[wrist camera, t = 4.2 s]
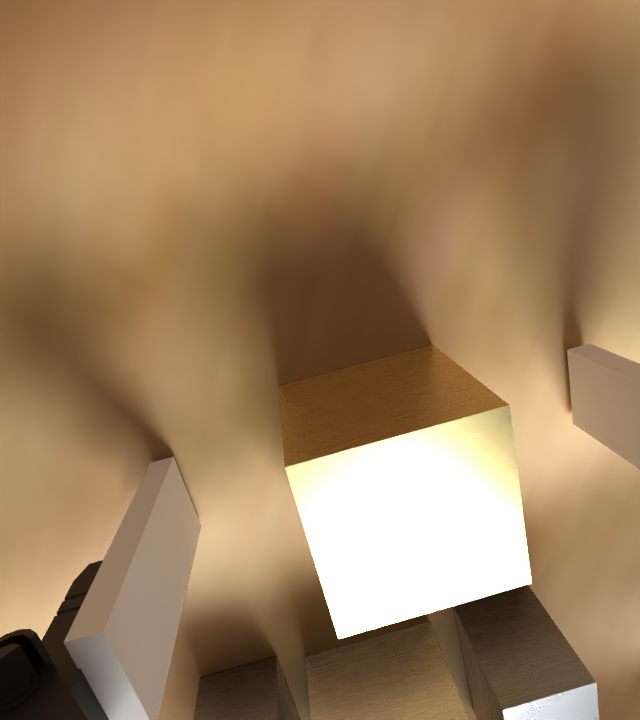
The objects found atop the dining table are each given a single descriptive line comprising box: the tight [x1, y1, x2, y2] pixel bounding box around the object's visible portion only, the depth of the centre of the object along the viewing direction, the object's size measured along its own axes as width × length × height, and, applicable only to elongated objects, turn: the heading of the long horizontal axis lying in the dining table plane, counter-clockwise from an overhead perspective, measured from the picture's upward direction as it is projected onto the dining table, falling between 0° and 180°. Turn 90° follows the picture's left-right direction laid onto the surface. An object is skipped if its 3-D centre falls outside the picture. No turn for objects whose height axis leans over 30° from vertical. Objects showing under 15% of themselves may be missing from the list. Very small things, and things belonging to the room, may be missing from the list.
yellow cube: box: [279, 345, 532, 639], centre depth 13 cm, size 5×5×5 cm
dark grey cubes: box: [194, 585, 599, 720], centre depth 17 cm, size 6×23×4 cm, turn 104°
